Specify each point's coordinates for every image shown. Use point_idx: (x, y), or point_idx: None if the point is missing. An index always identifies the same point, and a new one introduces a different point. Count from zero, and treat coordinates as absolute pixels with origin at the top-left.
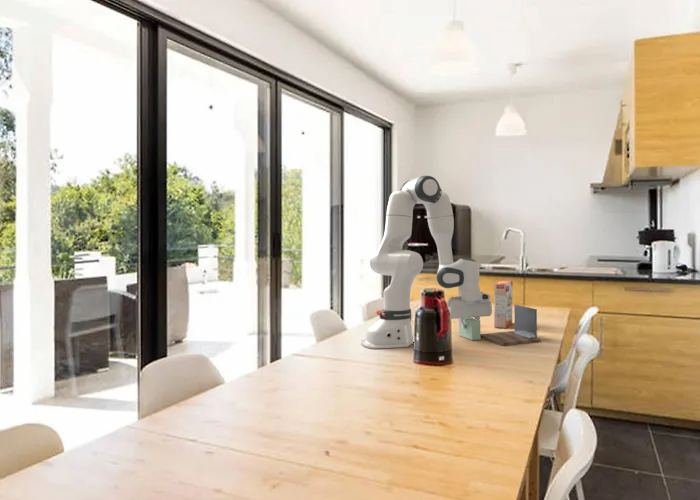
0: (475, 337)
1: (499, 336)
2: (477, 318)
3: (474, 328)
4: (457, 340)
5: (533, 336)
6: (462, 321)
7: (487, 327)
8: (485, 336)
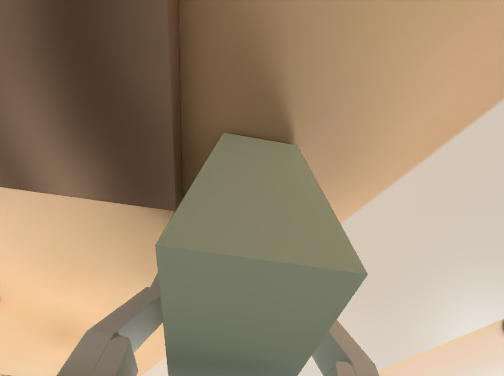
0: (268, 145)
1: (33, 51)
2: (117, 353)
3: (286, 184)
4: (362, 202)
5: None
6: (351, 349)
7: (38, 314)
8: (168, 129)
